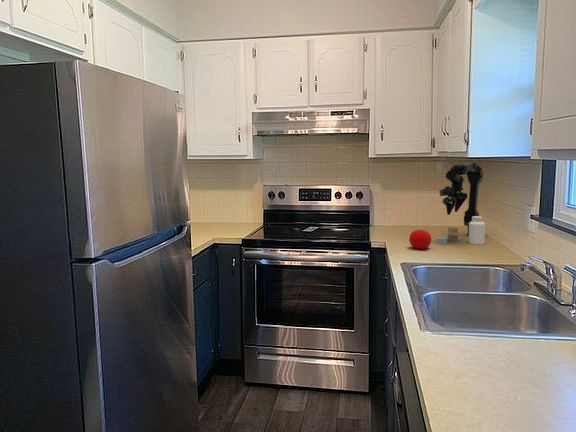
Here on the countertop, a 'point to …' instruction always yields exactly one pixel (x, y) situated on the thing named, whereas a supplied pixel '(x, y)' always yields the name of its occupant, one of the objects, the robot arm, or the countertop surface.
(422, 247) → the tomato
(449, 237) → the tower base
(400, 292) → the countertop surface
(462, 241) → the mat
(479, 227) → the pill bottle
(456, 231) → the tower top
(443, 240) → the pale grey cube
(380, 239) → the countertop surface
